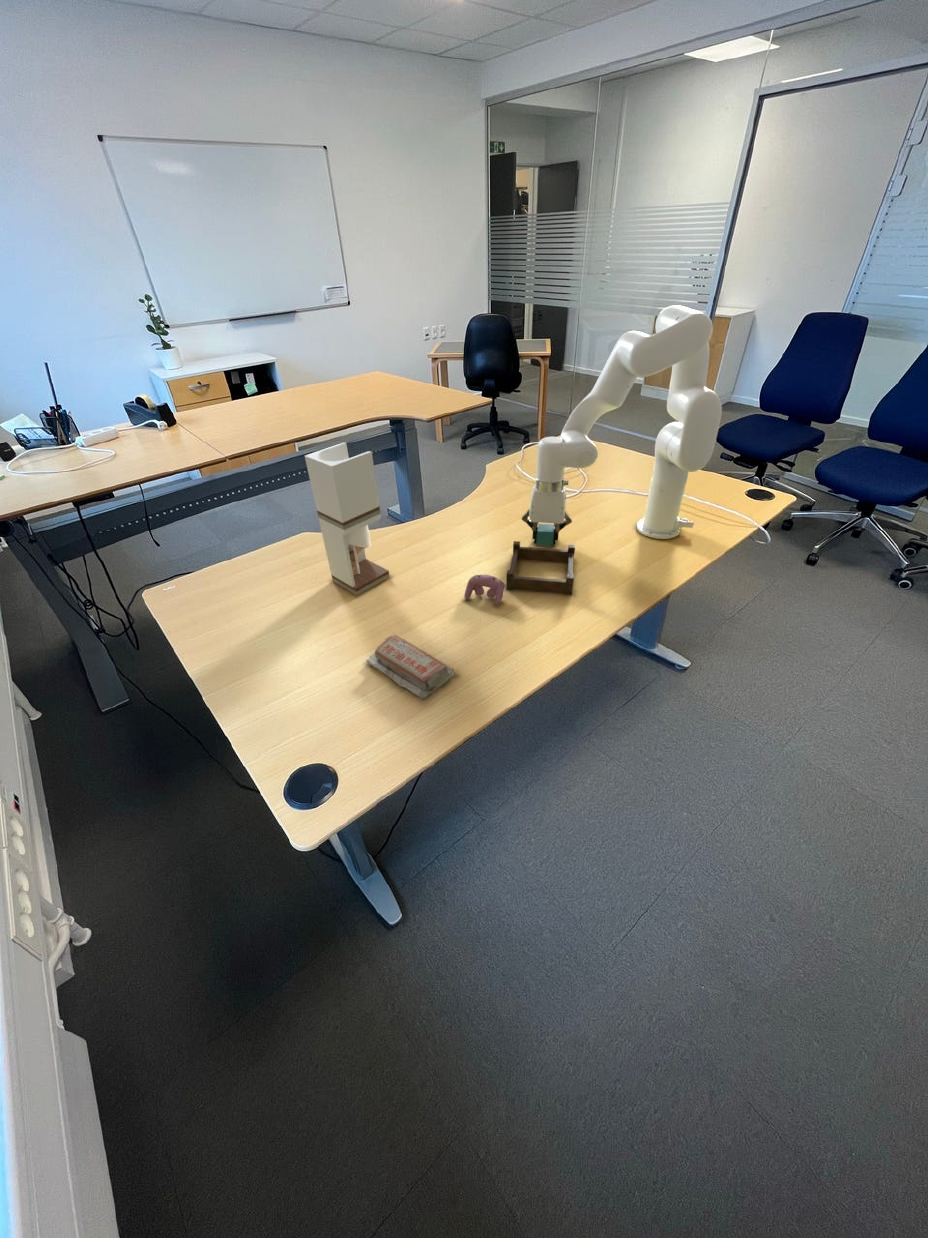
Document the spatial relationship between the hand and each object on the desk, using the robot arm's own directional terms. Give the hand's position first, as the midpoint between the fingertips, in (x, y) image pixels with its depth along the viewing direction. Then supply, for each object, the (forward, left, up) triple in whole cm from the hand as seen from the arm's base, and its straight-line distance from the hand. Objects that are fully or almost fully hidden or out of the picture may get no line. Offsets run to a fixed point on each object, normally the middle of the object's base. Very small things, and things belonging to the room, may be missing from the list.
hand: (545, 540), depth 155 cm
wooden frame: (0, +18, 0) cm, 18 cm away
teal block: (0, 0, 0) cm, 0 cm away
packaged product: (+25, +60, -1) cm, 65 cm away
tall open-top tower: (+48, +27, -1) cm, 55 cm away
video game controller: (+13, +31, -1) cm, 34 cm away
